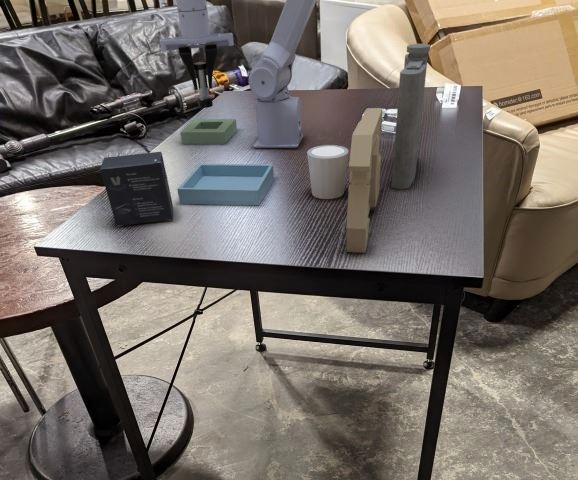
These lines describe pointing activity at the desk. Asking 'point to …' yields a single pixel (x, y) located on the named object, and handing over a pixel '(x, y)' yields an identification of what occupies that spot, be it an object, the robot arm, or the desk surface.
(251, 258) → the desk surface
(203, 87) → the silver black capped cylinder
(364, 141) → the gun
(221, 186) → the tray
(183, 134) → the green square holder
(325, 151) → the white cup
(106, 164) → the box
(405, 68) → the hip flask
